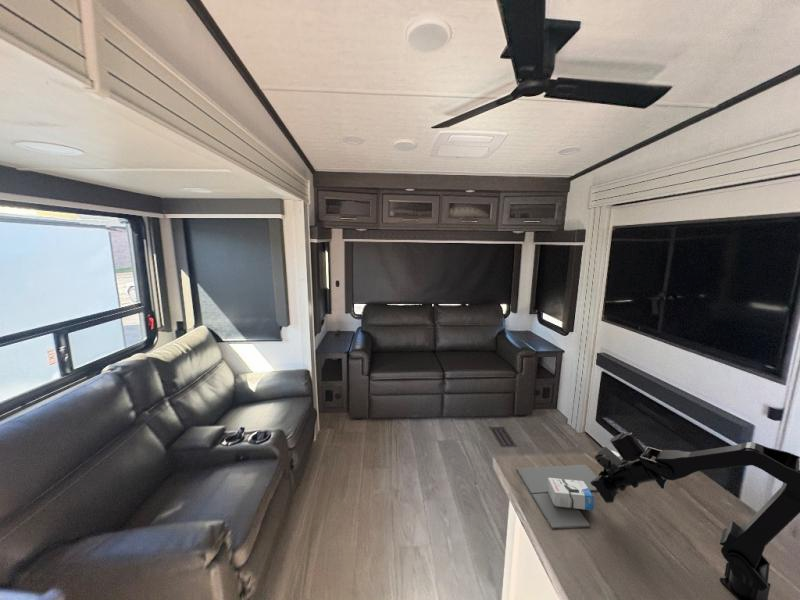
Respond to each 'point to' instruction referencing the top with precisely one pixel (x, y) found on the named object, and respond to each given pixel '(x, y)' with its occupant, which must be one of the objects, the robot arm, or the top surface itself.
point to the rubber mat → (539, 489)
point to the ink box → (570, 494)
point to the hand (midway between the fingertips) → (591, 483)
